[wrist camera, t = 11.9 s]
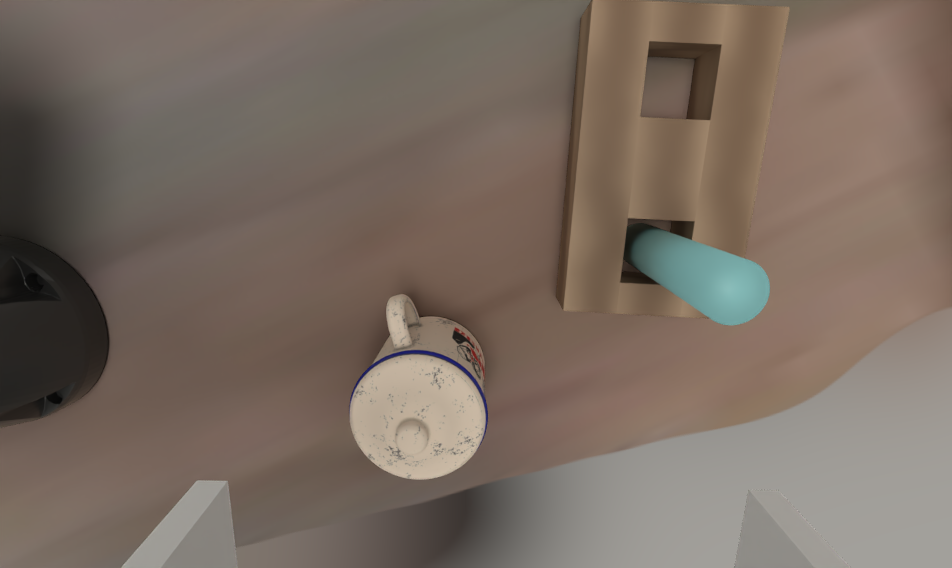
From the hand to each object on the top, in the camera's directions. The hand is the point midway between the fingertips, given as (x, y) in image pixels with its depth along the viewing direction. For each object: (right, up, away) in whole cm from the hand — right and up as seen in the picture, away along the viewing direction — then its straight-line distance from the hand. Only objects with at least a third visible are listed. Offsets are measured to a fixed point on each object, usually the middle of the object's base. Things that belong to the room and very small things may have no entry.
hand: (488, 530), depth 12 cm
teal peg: (+12, +9, +25) cm, 29 cm away
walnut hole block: (+13, +15, +23) cm, 30 cm away
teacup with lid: (-4, +1, +27) cm, 28 cm away
